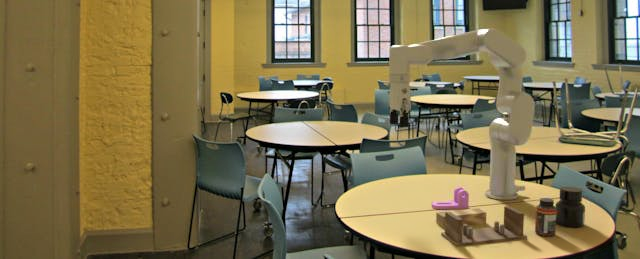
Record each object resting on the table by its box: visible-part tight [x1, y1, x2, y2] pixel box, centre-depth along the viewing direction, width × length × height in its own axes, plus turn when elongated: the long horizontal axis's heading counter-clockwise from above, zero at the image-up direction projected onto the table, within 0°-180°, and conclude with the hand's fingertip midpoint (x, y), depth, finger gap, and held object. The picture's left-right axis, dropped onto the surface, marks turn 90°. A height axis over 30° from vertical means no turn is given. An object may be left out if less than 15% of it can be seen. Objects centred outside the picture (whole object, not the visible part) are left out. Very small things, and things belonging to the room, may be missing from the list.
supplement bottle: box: [534, 197, 557, 237], centre depth 161 cm, size 6×6×11 cm
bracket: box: [431, 186, 470, 210], centre depth 192 cm, size 13×6×7 cm, turn 93°
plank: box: [435, 208, 487, 228], centre depth 173 cm, size 16×5×4 cm, turn 104°
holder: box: [440, 205, 528, 247], centre depth 159 cm, size 24×10×8 cm, turn 104°
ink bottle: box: [554, 186, 586, 228], centre depth 170 cm, size 10×9×12 cm
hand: (398, 125), depth 190 cm, fingers open, 9 cm apart
